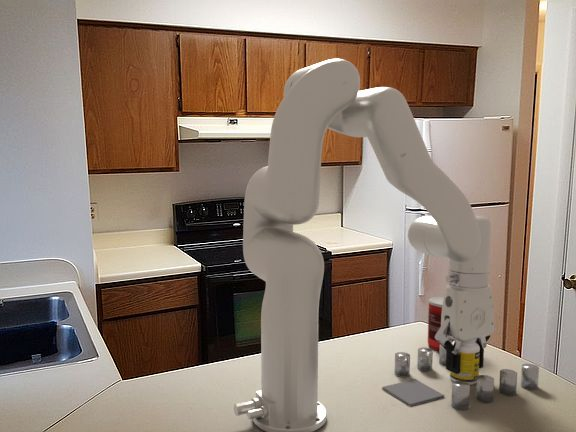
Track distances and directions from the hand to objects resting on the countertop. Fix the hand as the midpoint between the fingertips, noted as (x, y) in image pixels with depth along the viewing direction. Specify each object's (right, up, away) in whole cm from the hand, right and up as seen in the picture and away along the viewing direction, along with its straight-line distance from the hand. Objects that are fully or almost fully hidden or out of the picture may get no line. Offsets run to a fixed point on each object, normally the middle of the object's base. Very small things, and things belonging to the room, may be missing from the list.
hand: (464, 367), depth 106 cm
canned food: (+2, -1, +19) cm, 19 cm away
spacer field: (0, -2, 0) cm, 2 cm away
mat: (-12, -3, -6) cm, 13 cm away
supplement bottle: (0, -3, 0) cm, 3 cm away
